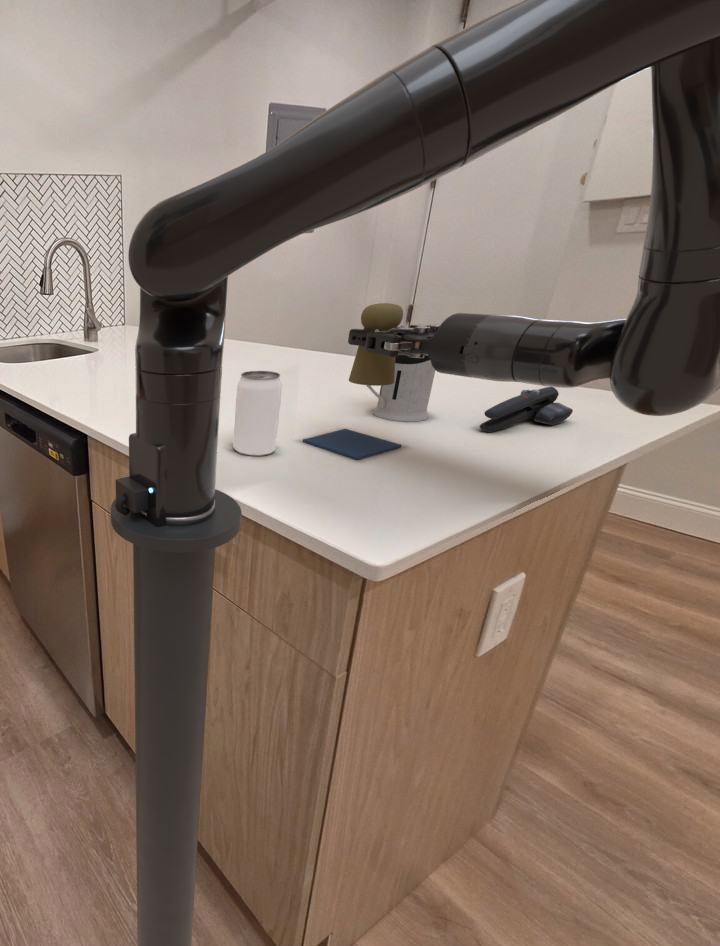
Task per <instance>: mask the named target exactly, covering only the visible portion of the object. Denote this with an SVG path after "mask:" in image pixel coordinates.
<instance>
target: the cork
mask: <svg viewBox="0 0 720 946" xmlns="http://www.w3.org/2000/svg"><path fill="white" fill-rule="evenodd" d="M403 318H404V310H403V308H402V306H400V305H399V304H396V303H389V302H380V303H379V302H378V303H373V304H370V305H369V304H368V305H367V306H365V308H364V309H363V310H362V312H361V317H360V324H361V325H362V328H363V329H365V330H376V329H379V330H384V331H389V330H390V329H392V328H395V327H399V326H400V325H401V323H402V321H403ZM365 347H366V346H358V345H357V350H356V352H355V356H354V360H353V364H352V366H351V371H350V374H349V377H348V382H349V383H351V384H355V385H362V386H366V385H370V386H371V387H372V386H374V387H375V386H376V387H377V386H378V387H379V386H380V387H381V386H382V385H391V384H393V383H394V382H395V357H391V356H387V355H382V354H378V353H374V352H367V351H365Z"/></svg>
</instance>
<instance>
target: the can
mask: <svg viewBox="0 0 720 946" xmlns="http://www.w3.org/2000/svg"><path fill="white" fill-rule="evenodd" d="M282 390H283V384H282V382H281V374H280V372H276V371H271V370H248V371H243V372H242V373H241V374H240V379H239V381H238V382H237V385H236V396H235V408H234V409H235V410H234V411H235V412H234V426H233V441H232V448H233V449H234V450H235V452H237V453H238V454H241V455H245V456H250V457H263V456H269V455H271V454H273V453H274V451H276V448H277V442H278V441H277V439H278V431H279V430H278V429H279V422H280V413H281V412H280V411H281V403H282Z"/></svg>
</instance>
